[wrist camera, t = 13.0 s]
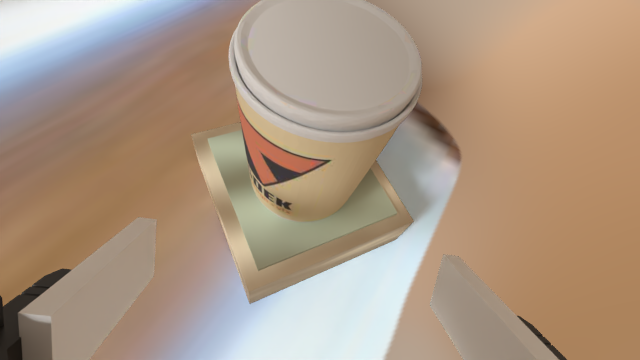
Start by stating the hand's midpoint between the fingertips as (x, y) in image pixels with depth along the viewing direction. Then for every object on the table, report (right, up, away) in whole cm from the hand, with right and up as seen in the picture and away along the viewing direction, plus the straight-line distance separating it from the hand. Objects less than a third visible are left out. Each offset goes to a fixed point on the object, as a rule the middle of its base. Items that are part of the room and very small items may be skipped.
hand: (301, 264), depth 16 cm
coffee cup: (-1, +4, +11) cm, 11 cm away
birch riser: (-1, +2, +14) cm, 14 cm away
